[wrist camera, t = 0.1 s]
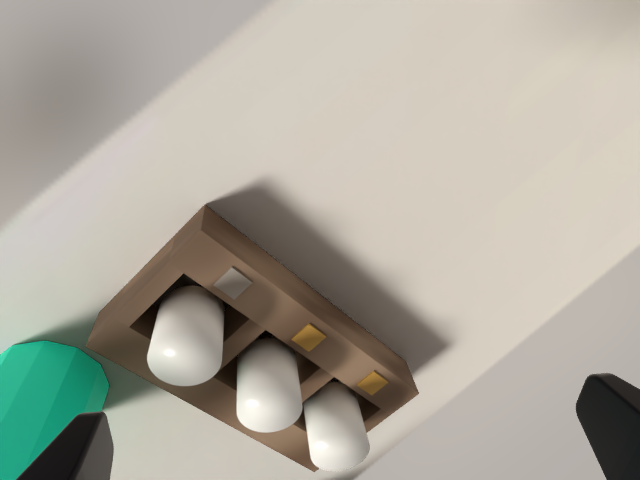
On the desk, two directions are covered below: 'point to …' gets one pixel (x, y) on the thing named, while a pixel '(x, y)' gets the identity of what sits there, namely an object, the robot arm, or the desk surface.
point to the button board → (253, 330)
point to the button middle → (268, 386)
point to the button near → (187, 337)
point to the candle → (43, 398)
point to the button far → (335, 428)
